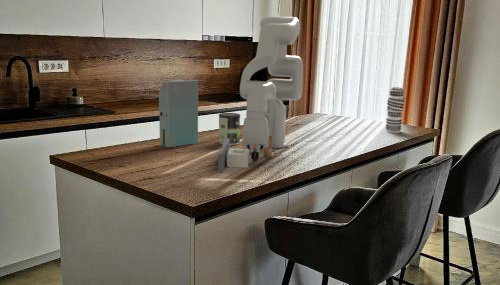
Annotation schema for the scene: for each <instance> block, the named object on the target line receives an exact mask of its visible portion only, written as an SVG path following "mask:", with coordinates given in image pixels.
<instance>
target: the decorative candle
mask: <svg viewBox="0 0 500 285" xmlns="http://www.w3.org/2000/svg"><path fill="white" fill-rule="evenodd" d="M404 94H405V90H404V89H403V88H402V87H398V86H397V87H394V86H393V87H391V88H390V89H389V94H388V99H387V102H386V104H387V107H386V108H387V109H386V111H387V116H386V119H385V120H386V121H385V123H386V124H385V132H387V133H392V134H394V133H395V134H398V133H401V132H402V131H401V130H402V121H403V120H402V118H403V117H402V113H403V112H404V110H403V109H404V105H405V104H404V102H405V97H404Z"/></svg>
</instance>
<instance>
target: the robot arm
mask: <svg viewBox="0 0 500 285" xmlns="http://www.w3.org/2000/svg"><path fill="white" fill-rule="evenodd" d="M259 23H260V24H259V25H260V30H259V31H260V32H259V36H258V43H257V48H256V55H255V57H254V58H253V59H251V61H250V62H249V63H248V64H246V66H245V67H244V69H243V71H242V75H241V78H240V84H239V94H240V97H241V98H242V99H244V100H246V114H245V115H246V117H245V118H244V119H243V124H242V137H241V138H242V142H241V146H242V147H244V148H246V149H249V152H250V160H252V163H258V160H259V157H260V156H259V154H260V152H261V150H264V148H266V147H269V143H268V138H269V135H272V149H283V148H287V147H288V145H289V144H288V142H286V121H287V120H286V114H287V109H286V106H285V104H284V103H283V100H284V101H298V100H301V97H302V94H303V81H304V80H303V76H304V73H303V72H304V64H303V59H302V58H301V57H300V56H298V55H288V53H287V50H288V49H287V48H288V45H289V46H291V45H293V44H294V43H295V42H296V40H297V38H298V36H299V35H300V31H301V24H300V20H299V19H298V18H297V17H296V16H295V17H294V16H266V17H263V18H261V20H260V22H259ZM266 68H267V71H268V73H269V75H271V76H273V77H287V78H289V79H286V78H270V79H268V80H266V81H264V80H263V81H261V80H250V79H251V78H252V76H253V75H254V74H255V73H257V72H258V71H260V70H262V69H266ZM256 145H257V147H256V149H255V148H254V146H256Z"/></svg>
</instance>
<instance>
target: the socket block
mask: <svg viewBox="0 0 500 285" xmlns="http://www.w3.org/2000/svg"><path fill="white" fill-rule="evenodd" d="M249 164H250V150H249V149H248V148H231V147H230V149H229V151H228V154H227V162H226V166H227V168H248V167H249Z"/></svg>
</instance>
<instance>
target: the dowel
mask: <svg viewBox="0 0 500 285" xmlns="http://www.w3.org/2000/svg"><path fill="white" fill-rule="evenodd" d="M268 143H269V147H266V148H263V158H265V159H271V158H272V149H273V148H272V135H269V138H268Z"/></svg>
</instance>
